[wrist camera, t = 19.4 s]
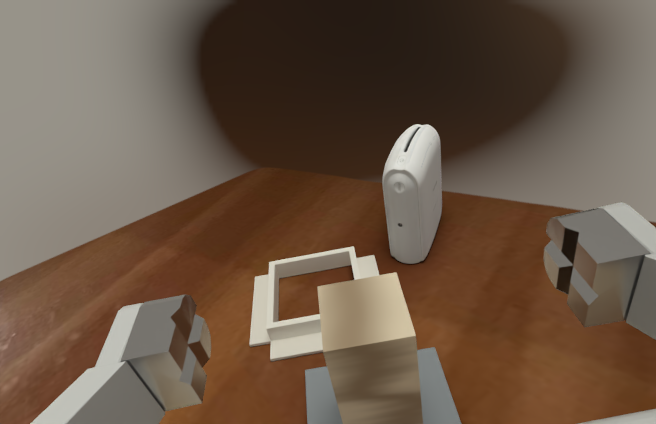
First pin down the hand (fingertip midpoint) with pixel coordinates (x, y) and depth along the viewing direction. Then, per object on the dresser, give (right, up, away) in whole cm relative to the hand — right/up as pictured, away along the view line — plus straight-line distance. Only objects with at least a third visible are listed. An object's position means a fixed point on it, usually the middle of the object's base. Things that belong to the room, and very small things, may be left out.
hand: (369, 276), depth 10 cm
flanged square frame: (-2, -7, +34) cm, 35 cm away
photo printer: (+9, -1, +40) cm, 41 cm away
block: (+3, -14, +22) cm, 26 cm away
